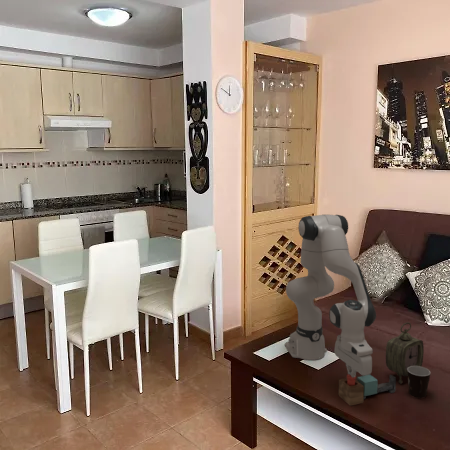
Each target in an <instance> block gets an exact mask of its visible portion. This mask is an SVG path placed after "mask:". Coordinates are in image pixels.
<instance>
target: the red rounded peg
mask: <svg viewBox="0 0 450 450" xmlns="http://www.w3.org/2000/svg"><path fill="white" fill-rule="evenodd" d="M346 378H347V384H348V385H349V386H353V385H355V380H357V376H356V377H351V376H350V375H349V374H348V373H347V374H346Z"/></svg>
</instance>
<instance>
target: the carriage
mask: <svg viewBox="0 0 450 450" xmlns="http://www.w3.org/2000/svg"><path fill="white" fill-rule="evenodd" d="M356 380H357V381H358V382H359V383H360V384H362V385H363V386H364V395H363V396H365V397H367V396H371V395H377V394H378V393H377V386H378V384H379V383H378V382H379V381H378V379H377V378H376V377H374V376H373V375H371V374H369V375H365V376H363V375H360V376H356Z"/></svg>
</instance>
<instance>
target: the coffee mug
mask: <svg viewBox="0 0 450 450" xmlns="http://www.w3.org/2000/svg"><path fill="white" fill-rule="evenodd" d="M407 372H408V376H407V382H408V393H409V395H410V396H412V397H413V398H417V399H424V398H426V397H427V393H428V387H429V382H430V378H431V377H430V376H431V371H430V369H428V368H427V367H424V366H422V367H421V366H410V367H408V368H407Z"/></svg>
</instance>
